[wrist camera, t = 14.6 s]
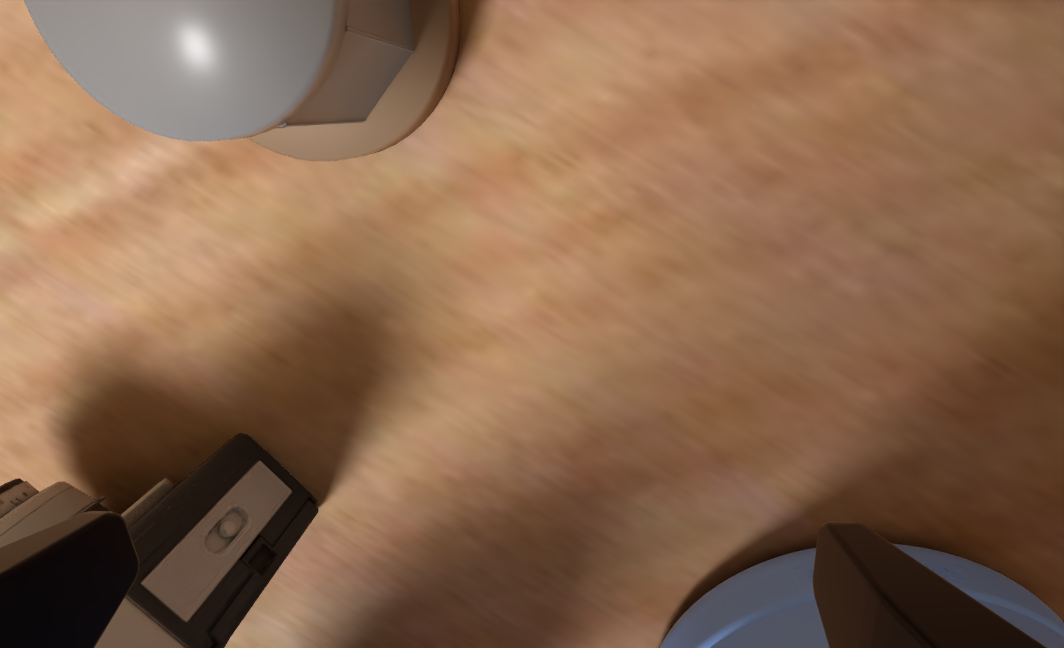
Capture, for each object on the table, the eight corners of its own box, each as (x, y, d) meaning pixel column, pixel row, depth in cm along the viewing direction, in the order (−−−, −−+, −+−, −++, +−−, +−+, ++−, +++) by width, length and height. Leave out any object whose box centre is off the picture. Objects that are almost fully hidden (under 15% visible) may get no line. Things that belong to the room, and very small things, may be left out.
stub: (472, 149, 18) (424, 165, 13) (233, 164, 18) (100, 184, 13) (444, -162, 15) (368, -296, 10) (168, -127, 16) (-27, -235, 11)
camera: (167, 351, 21) (-174, 542, 12) (330, 507, 23) (145, 784, 13) (-22, 537, 25) (-386, 788, 16) (128, 658, 27) (-123, 951, 18)
